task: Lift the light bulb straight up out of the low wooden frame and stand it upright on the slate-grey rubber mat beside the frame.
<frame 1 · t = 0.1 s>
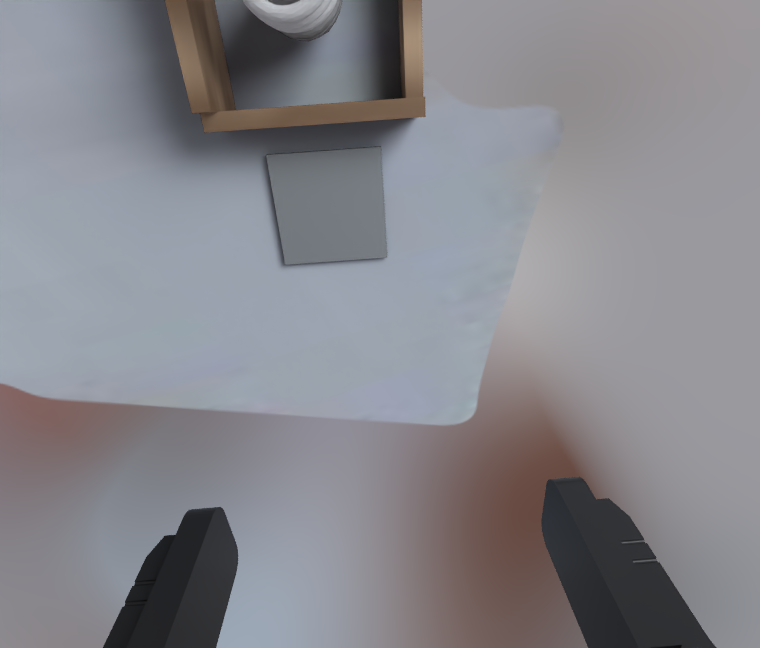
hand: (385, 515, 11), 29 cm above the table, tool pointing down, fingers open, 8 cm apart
wooden frame: (307, 2, 29), on the table
light bulb: (307, 3, 29), resting in wooden frame
slate mat: (330, 207, 36), on the table
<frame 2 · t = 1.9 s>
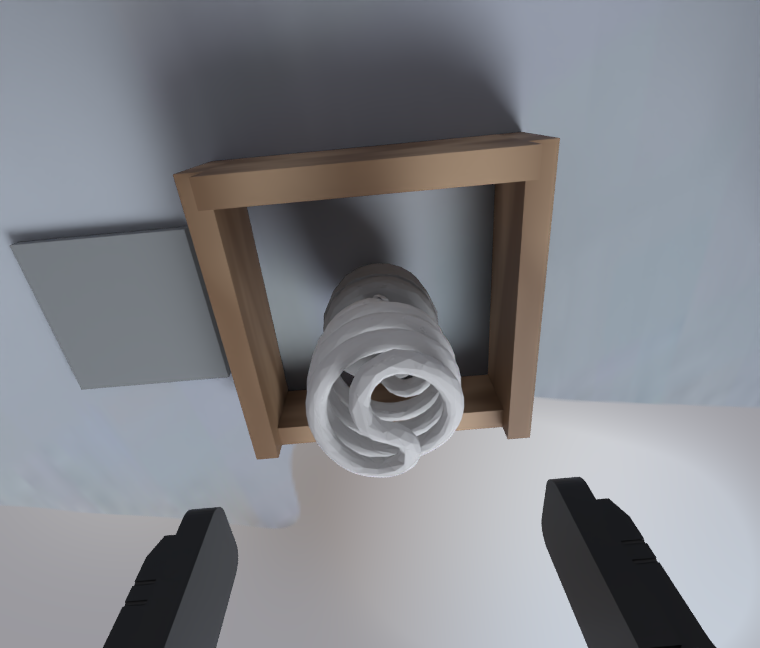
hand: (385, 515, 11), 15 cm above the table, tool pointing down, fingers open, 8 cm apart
wooden frame: (379, 290, 24), on the table
light bulb: (378, 289, 24), resting in wooden frame
slate mat: (133, 312, 24), on the table
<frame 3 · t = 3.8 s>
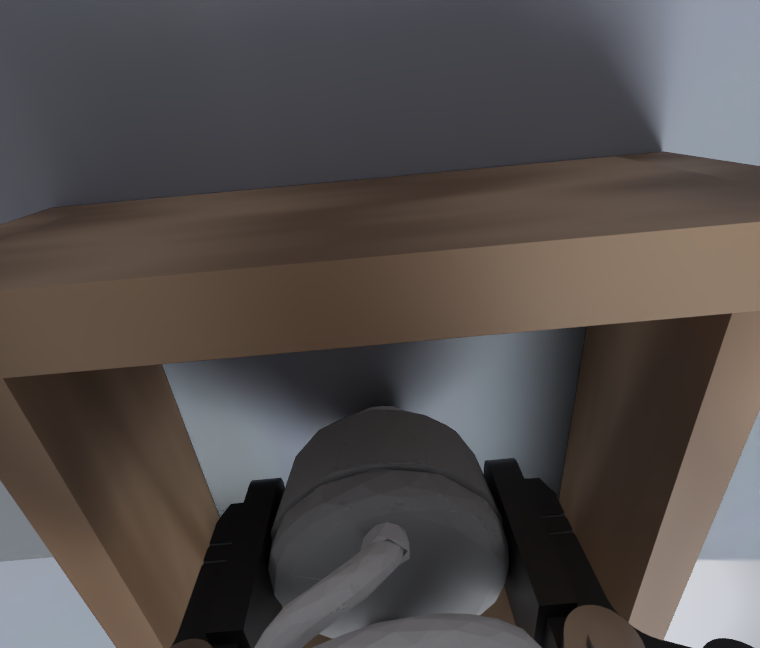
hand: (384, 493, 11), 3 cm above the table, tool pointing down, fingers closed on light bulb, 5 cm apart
wooden frame: (381, 419, 14), on the table
light bulb: (380, 415, 14), resting in wooden frame, touching gripper
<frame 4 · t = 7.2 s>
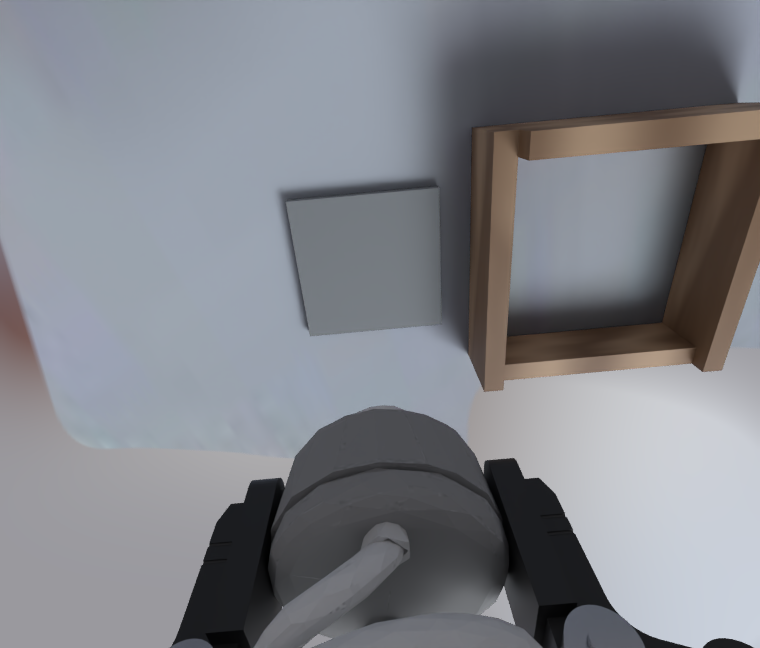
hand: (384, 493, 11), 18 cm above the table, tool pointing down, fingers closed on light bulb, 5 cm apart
wooden frame: (586, 244, 27), on the table
light bulb: (380, 415, 14), point 15 cm above the table, touching gripper
slate mat: (369, 264, 27), on the table
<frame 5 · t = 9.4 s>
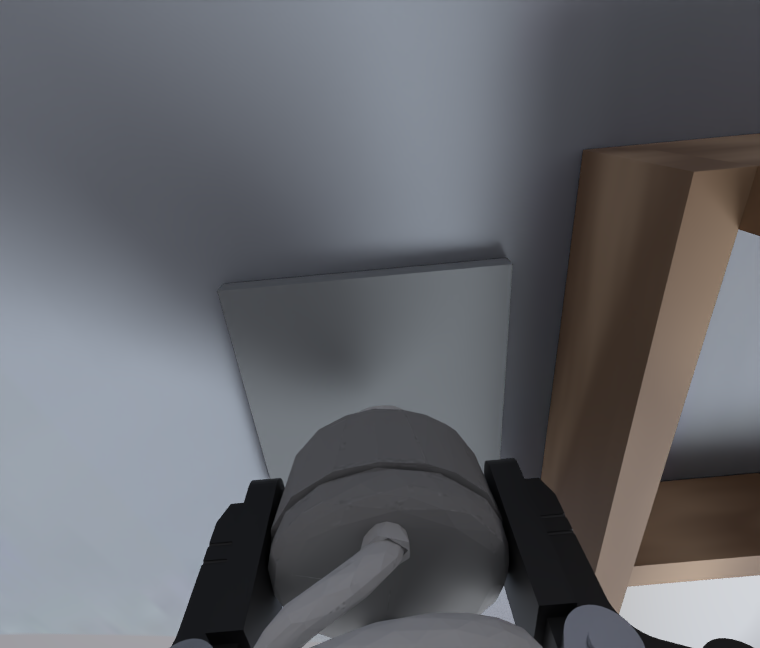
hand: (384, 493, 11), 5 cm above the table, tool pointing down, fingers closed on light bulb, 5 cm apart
light bulb: (380, 414, 14), point 2 cm above the table, touching gripper
slate mat: (376, 387, 15), on the table
when the fingers open (4 cm above the table, at t = 10.4 s): light bulb stays where it is, resting on slate mat.
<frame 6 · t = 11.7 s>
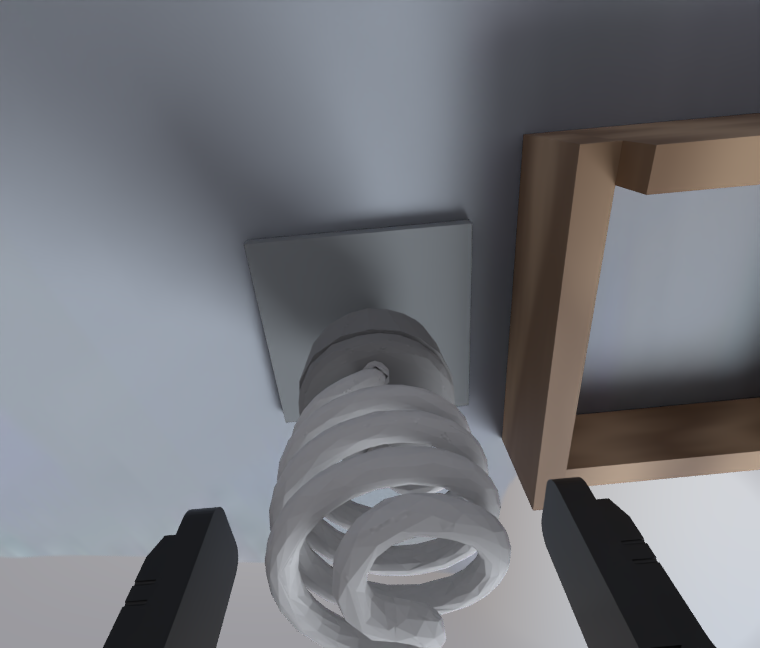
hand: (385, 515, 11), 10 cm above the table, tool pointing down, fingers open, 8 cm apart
wooden frame: (674, 298, 19), on the table
light bulb: (372, 331, 19), resting on slate mat
slate mat: (368, 327, 19), on the table
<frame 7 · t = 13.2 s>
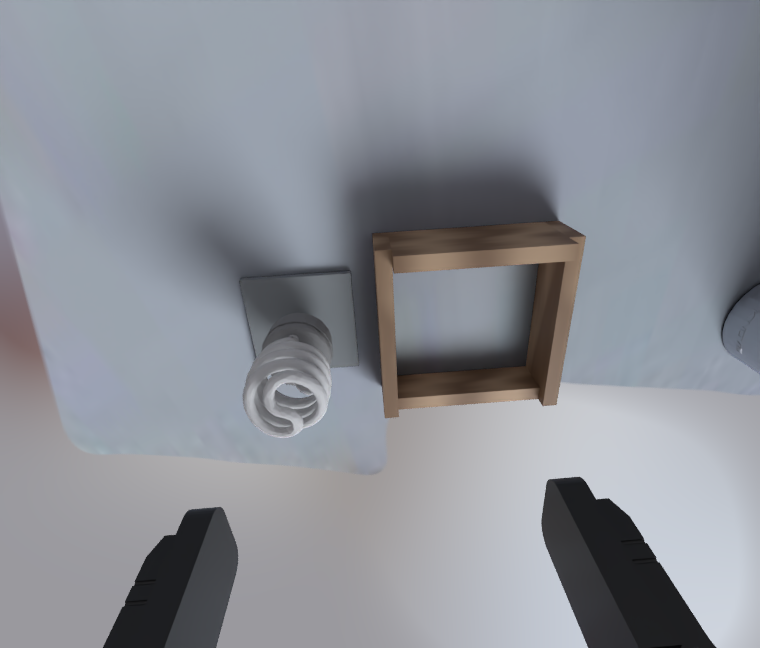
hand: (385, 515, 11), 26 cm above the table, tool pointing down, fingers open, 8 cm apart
wooden frame: (462, 311, 37), on the table
light bulb: (304, 324, 37), resting on slate mat
slate mat: (303, 322, 37), on the table
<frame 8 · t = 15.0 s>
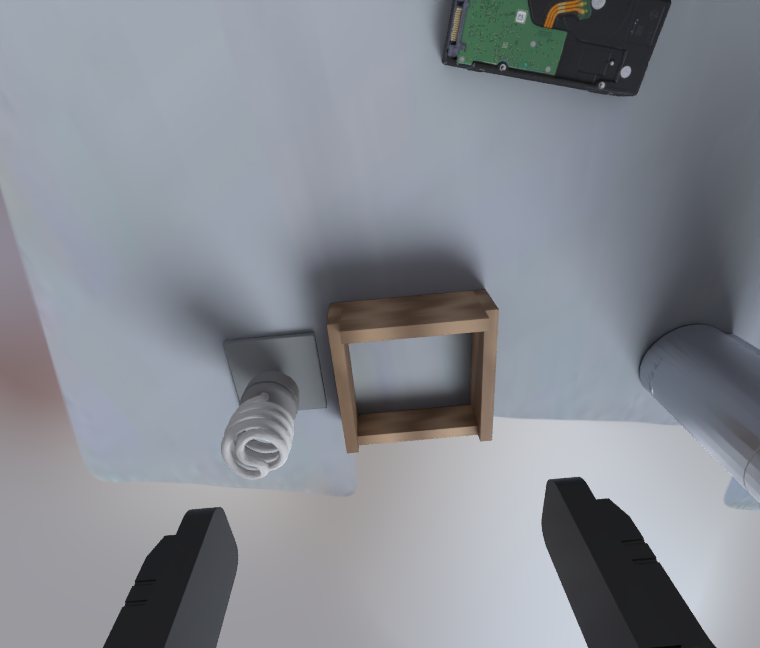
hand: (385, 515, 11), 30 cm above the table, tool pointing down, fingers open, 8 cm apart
wooden frame: (411, 362, 44), on the table
light bulb: (278, 376, 44), resting on slate mat
disk drive: (551, 3, 31), on the table
slate mat: (278, 373, 44), on the table
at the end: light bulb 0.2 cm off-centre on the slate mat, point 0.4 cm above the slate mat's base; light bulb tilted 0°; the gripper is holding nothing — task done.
